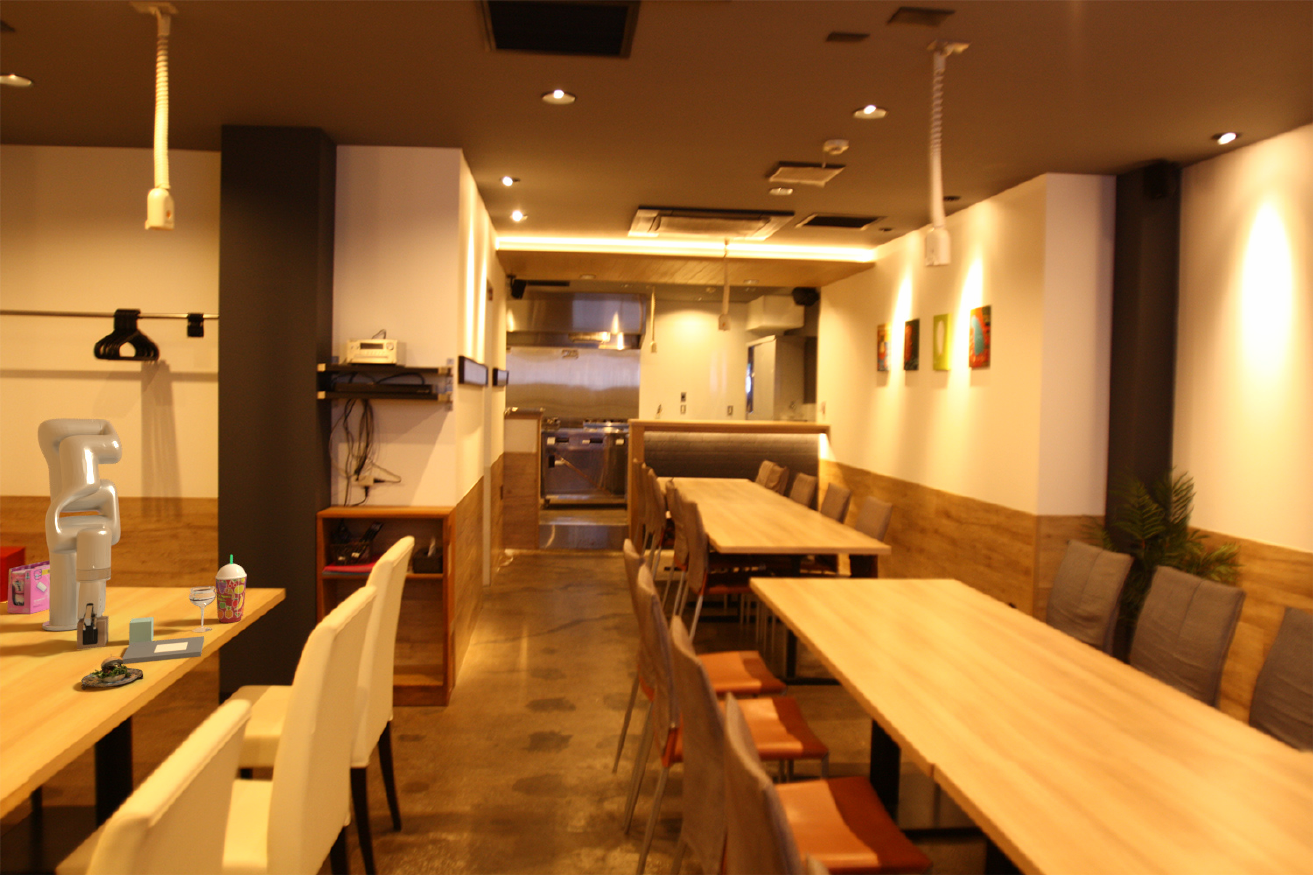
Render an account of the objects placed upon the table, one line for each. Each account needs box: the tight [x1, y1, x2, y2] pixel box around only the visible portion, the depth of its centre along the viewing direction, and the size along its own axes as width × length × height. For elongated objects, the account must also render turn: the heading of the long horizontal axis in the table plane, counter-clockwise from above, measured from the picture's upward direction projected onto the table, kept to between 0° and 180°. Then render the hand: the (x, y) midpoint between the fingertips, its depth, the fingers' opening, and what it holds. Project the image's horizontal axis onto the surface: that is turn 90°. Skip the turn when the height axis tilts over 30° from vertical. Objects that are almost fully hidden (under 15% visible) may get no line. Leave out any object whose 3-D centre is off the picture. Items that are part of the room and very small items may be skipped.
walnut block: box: [76, 615, 110, 650], centre depth 207 cm, size 6×6×7 cm
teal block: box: [128, 616, 155, 645], centre depth 212 cm, size 5×5×6 cm
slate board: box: [121, 636, 205, 665], centre depth 204 cm, size 15×17×1 cm
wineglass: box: [188, 585, 217, 633], centre depth 224 cm, size 7×7×12 cm
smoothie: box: [215, 554, 248, 624], centre depth 234 cm, size 8×8×20 cm
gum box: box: [7, 559, 50, 615], centre depth 246 cm, size 24×8×14 cm, turn 176°
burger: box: [80, 655, 144, 691], centre depth 181 cm, size 12×12×8 cm
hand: (92, 639), depth 207 cm, fingers open, 7 cm apart
